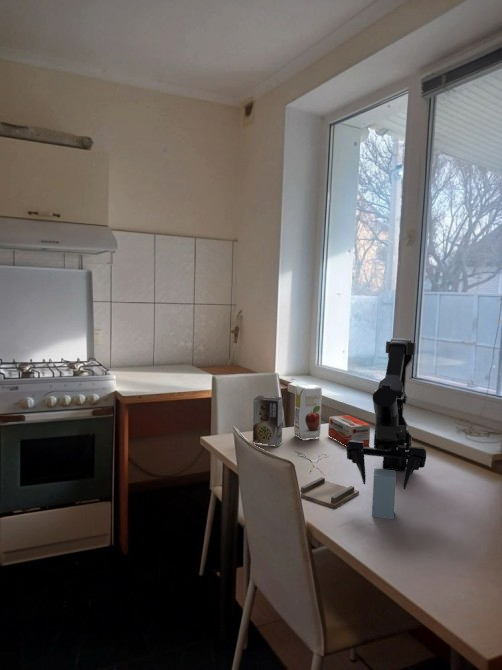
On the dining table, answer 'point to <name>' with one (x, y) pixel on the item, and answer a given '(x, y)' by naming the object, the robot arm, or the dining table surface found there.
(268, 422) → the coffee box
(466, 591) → the dining table surface
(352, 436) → the medicine box
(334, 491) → the walnut groove board
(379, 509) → the slate-blue block
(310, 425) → the juice carton
